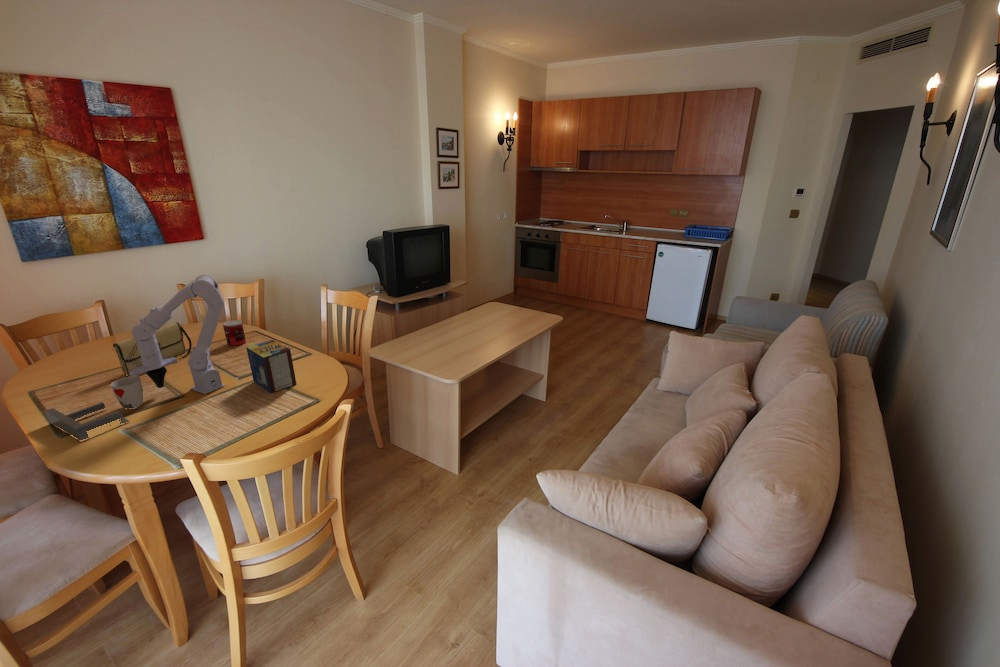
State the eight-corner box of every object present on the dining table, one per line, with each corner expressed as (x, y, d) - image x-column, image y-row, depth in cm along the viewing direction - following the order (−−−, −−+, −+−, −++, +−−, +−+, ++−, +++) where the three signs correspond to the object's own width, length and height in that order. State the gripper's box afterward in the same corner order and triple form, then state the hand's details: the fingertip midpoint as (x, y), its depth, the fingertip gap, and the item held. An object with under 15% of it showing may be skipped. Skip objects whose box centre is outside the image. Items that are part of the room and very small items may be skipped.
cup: (114, 408, 154) (105, 383, 150) (140, 398, 160) (133, 374, 157) (126, 414, 150) (117, 389, 147) (152, 404, 157) (144, 379, 153)
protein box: (279, 373, 182) (272, 339, 176) (297, 384, 172) (290, 348, 167) (252, 382, 174) (245, 346, 168) (270, 394, 165) (263, 357, 159)
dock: (130, 422, 146) (125, 409, 144) (81, 442, 135) (76, 429, 133) (98, 406, 155) (93, 393, 153) (50, 423, 144) (44, 410, 142)
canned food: (229, 341, 213) (225, 320, 209) (248, 340, 215) (243, 319, 211) (225, 347, 206) (220, 326, 202) (244, 346, 208) (239, 324, 204)
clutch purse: (132, 380, 174) (121, 346, 168) (119, 378, 175) (108, 344, 170) (198, 352, 201) (190, 322, 195) (186, 350, 202) (178, 320, 197)
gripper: (166, 345, 165) (175, 376, 170) (121, 358, 153) (132, 392, 157) (177, 348, 162) (185, 380, 167) (131, 362, 150) (142, 397, 154)
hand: (160, 386), depth 162 cm, fingers closed
